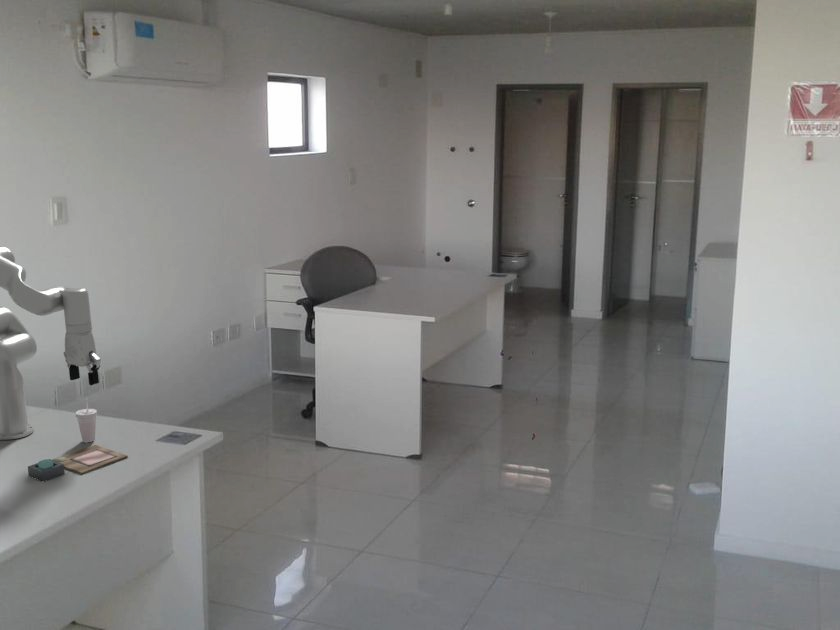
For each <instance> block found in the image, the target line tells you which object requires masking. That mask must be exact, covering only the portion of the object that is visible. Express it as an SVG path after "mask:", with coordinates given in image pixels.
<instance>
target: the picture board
mask: <svg viewBox="0 0 840 630" xmlns="http://www.w3.org/2000/svg"><path fill="white" fill-rule="evenodd" d="M127 457H128V458H129V456H128V455H127V454H124V453H121V452H117V451H115V450H112V449H109V448H106V447H103V446H99V445H97V444H93V445H90V446H88V447H85V448H82V449H79V450H76V451H73V452H71V453H67V454H65V455H62V456H61V455H60V456H58V457H56V458H52V459H51V460H54V461H56V462H59V463H62V464H64V470H68V471H70V472H73V473H76V474H78V475H84V474H85V475H86V474H87V473H90V472H92V471H95V470H98V469H101V468H103V467H106V466H108V465H111V463H112V464H115V463H117V462H120V461H122V460H124V459H128V458H127Z"/></svg>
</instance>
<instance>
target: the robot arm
mask: <svg viewBox="0 0 840 630" xmlns="http://www.w3.org/2000/svg"><path fill="white" fill-rule="evenodd" d="M26 277H27V271H26V269H25V268H24V267H23V266H22V265H19V264H17V263H16V258H15V255H14V253H13V252H12V251H11V250H10V249H9V248H8V247H5V246H2V245H1V246H0V288H2V289H4V290H5V291H7V292H8V295H9V296H10V299H11V300H12V302H14V303H15V304H16V306H18V307H20V308H21V309H23V310H26V311H27V312H29V313H31V314H33V315H36V316H41V317H43V316H48V315H52V314H53V313H57V312H61V311H63V313H64V314H63V315H64V323H65V337H64V352H63V356H64V359H65V362H66V364H67V365H66V366H67V368H68V373H69V374H68V375H69V380H70V381H75V380H78V379H80V378H81V375H80V367H82V368H83V367H86V368H87V370H88V372H87V378H88V379H87V380H88V385H89V386H92V385H97V384H99V382H100V379H99V371H100V367H101V361H102V360H101V358H100V357H99V356H98V355H97V349H96V342H95V339H94V336H93V335H94V334H93V326H92V315H91V305H90V297H89V292H88V290H87V288H83V287H67V286H63V285H57V286H56V285H55V286H52V287H49V288H45V289H42V290H40V291H39V290H37V289H35V288H33V287H31V286H30V285H28V284H26V283H25V281H26V279H27V278H26ZM37 348H38V347H37V343H36V340H35V338H34V336H33V335H32V334H31V332H29V330H28V329H27V328H26V326H25V325H24V323H22V321H21V320H20V319H19V317H18V316H16V314H15V313H14V312H13V311H12V310H10V309H9V308H7V307H4V306H0V440H1V441H4V440H5V441H6V440H7V441H8V440H15V439H21V438H24V437H27V436H29V435H31V434H33V433H34V431H35V429H34V428H35V427H34V426H33V425H32V424H29V421H28V413H27V412H28V411H27V404H26V403H27V402H26V395H25V394H26V392H25V385H24V377H23V375H22V372H20V369H19V368H18V365H19V364H22V363H24V362H26V361H29V360H30V359H32V358H33V357H34V356H36V353H37V350H38V349H37Z"/></svg>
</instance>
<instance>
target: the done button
mask: <svg viewBox="0 0 840 630" xmlns="http://www.w3.org/2000/svg"><path fill="white" fill-rule="evenodd" d="M49 459H50V458H49ZM49 459H42V460H39V461H38V462H37V463H38V468H40V469H43V470H44V469H47V468H49V467H52V466H53V460H52V459H51V460H49Z"/></svg>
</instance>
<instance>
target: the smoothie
mask: <svg viewBox="0 0 840 630" xmlns="http://www.w3.org/2000/svg"><path fill="white" fill-rule="evenodd" d="M88 401H89V399H88V398H85V407H86V408H83V409H79V410H76V412H75V417H76V419H77V423H78V428H79V432H80V436H81V440H82V443H84V442H85V444H88V443H87V442H91V443H93V442H92V441H94V440H95V441H96V428H97V427H96V423H97V422H96V421H97V415H98V412H97V411H98V410H97V409H95V408H89V403H88ZM95 441H94V442H95Z"/></svg>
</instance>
